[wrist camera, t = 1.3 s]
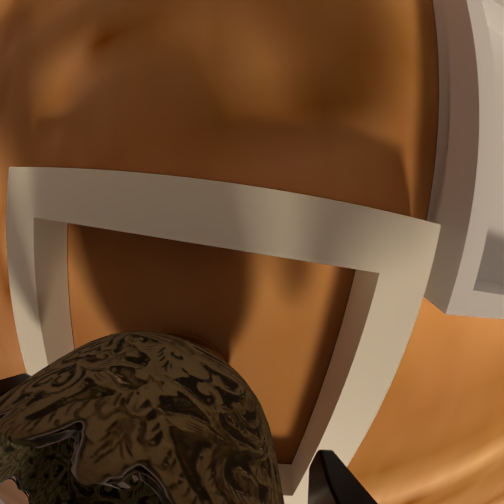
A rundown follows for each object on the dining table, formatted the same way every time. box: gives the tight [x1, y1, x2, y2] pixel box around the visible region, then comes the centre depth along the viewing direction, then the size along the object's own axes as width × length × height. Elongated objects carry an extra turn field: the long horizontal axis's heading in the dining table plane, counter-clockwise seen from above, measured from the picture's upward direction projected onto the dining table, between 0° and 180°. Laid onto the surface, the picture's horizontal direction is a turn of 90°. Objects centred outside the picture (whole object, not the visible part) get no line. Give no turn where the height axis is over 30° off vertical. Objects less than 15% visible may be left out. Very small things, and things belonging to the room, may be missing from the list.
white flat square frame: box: [6, 167, 441, 504], centre depth 10 cm, size 14×14×2 cm
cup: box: [0, 331, 284, 504], centre depth 7 cm, size 8×7×8 cm
